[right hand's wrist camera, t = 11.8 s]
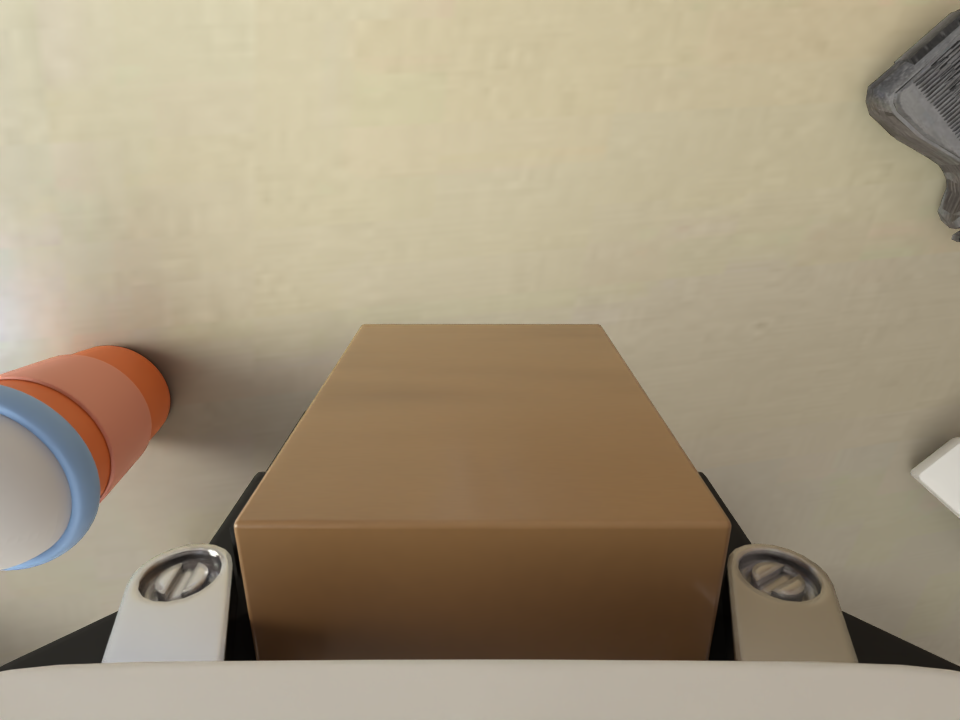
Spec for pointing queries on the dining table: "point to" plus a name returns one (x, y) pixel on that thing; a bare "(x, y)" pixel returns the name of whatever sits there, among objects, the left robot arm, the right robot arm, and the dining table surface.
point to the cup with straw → (70, 444)
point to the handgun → (927, 106)
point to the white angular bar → (942, 474)
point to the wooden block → (482, 508)
